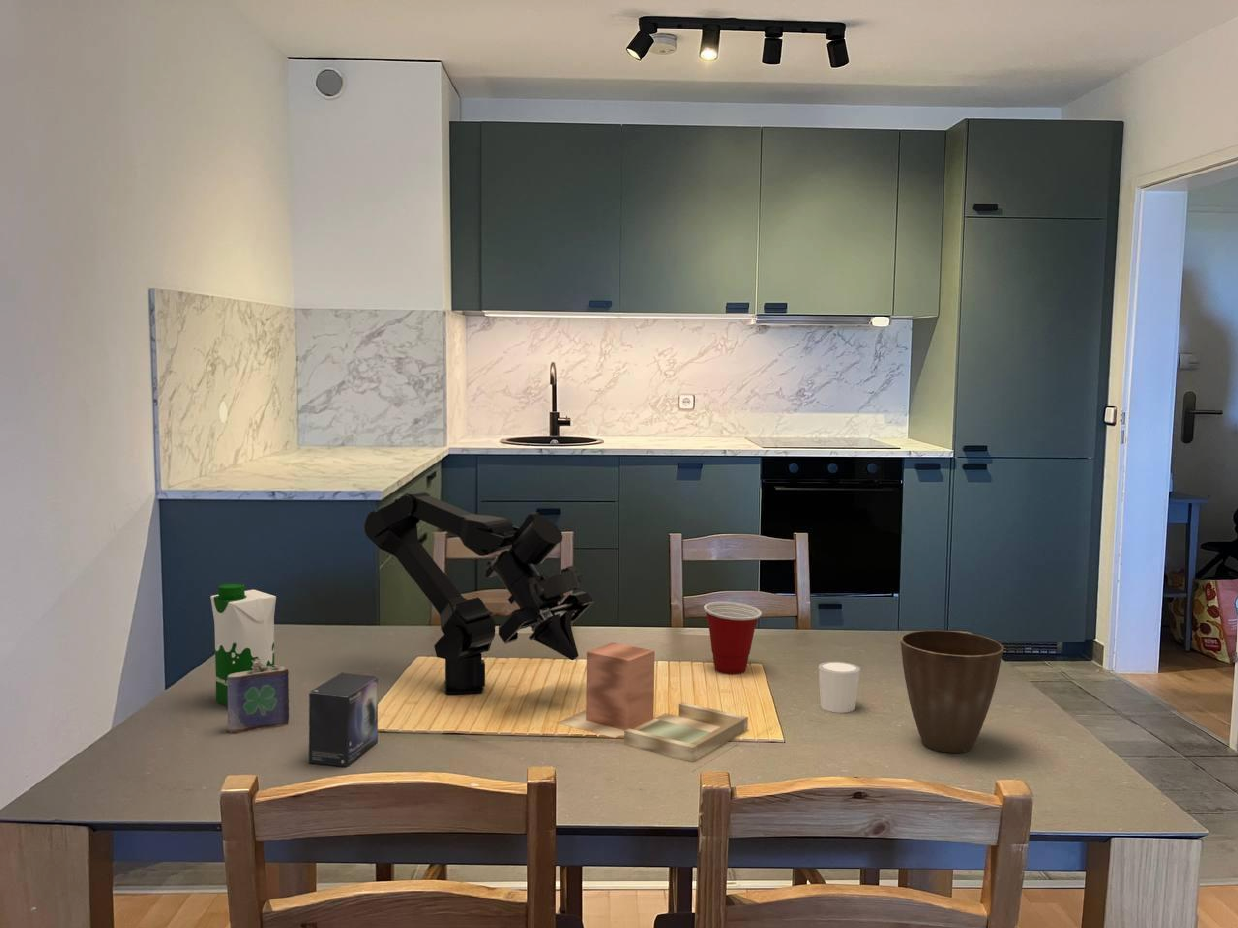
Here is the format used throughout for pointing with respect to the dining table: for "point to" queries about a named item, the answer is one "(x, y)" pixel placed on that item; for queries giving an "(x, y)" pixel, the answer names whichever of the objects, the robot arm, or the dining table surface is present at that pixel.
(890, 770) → the dining table surface
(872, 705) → the dining table surface
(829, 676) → the white tapered cylinder
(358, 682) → the small box
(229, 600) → the milk carton
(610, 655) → the block
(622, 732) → the shallow open box
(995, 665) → the plant pot
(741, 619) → the plastic cup
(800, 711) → the dining table surface
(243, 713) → the flask
